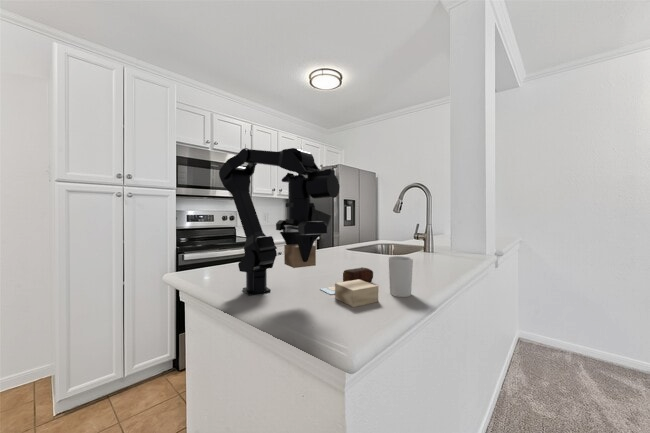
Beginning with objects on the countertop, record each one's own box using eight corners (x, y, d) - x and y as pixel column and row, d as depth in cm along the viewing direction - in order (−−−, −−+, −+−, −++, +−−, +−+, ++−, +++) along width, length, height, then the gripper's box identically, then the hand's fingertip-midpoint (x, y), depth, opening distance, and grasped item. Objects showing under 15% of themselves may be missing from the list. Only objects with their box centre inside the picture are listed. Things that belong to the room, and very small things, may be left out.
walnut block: (284, 264, 71) (284, 245, 71) (305, 261, 74) (304, 243, 74) (294, 268, 66) (293, 247, 66) (315, 265, 69) (315, 245, 69)
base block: (335, 298, 72) (335, 283, 72) (358, 293, 76) (358, 279, 76) (353, 307, 65) (353, 290, 65) (378, 301, 70) (378, 285, 69)
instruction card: (319, 289, 80) (319, 288, 80) (344, 285, 85) (344, 284, 85) (330, 294, 75) (330, 293, 75) (356, 290, 80) (356, 289, 80)
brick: (352, 288, 81) (352, 272, 81) (342, 285, 84) (342, 270, 84) (373, 282, 89) (373, 268, 89) (363, 280, 92) (364, 266, 92)
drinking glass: (397, 298, 72) (397, 260, 72) (383, 291, 78) (383, 256, 78) (418, 295, 74) (418, 259, 74) (403, 289, 81) (403, 255, 81)
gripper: (346, 198, 66) (346, 262, 66) (310, 201, 82) (310, 253, 82) (305, 197, 60) (305, 267, 60) (275, 200, 76) (275, 256, 76)
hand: (299, 259), depth 70 cm, fingers closed on walnut block, 6 cm apart
